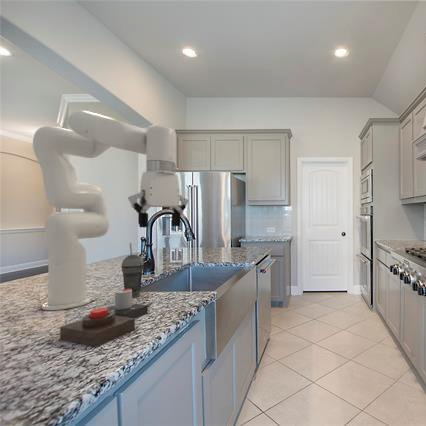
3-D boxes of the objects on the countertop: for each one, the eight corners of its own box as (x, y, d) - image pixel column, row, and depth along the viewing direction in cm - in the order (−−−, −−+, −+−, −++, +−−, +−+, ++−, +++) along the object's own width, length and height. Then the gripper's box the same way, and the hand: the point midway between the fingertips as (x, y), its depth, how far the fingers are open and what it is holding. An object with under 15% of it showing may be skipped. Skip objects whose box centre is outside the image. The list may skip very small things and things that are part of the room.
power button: (86, 318, 71) (86, 311, 71) (101, 313, 74) (101, 307, 74) (96, 320, 70) (96, 313, 70) (111, 315, 73) (111, 308, 73)
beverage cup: (132, 299, 101) (133, 244, 101) (115, 298, 103) (116, 243, 103) (148, 294, 108) (149, 242, 109) (132, 293, 110) (133, 241, 110)
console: (97, 318, 83) (97, 309, 83) (124, 309, 91) (124, 301, 91) (122, 322, 80) (122, 313, 80) (148, 312, 88) (148, 304, 88)
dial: (122, 310, 83) (122, 292, 83) (111, 308, 84) (111, 291, 84) (135, 305, 87) (135, 288, 87) (125, 304, 88) (125, 287, 88)
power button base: (59, 340, 69) (60, 319, 69) (102, 324, 79) (102, 306, 79) (95, 347, 66) (95, 325, 66) (134, 330, 75) (134, 311, 75)
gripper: (180, 173, 93) (179, 225, 93) (122, 165, 78) (121, 227, 78) (194, 172, 89) (194, 226, 89) (137, 163, 74) (136, 228, 74)
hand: (160, 226), depth 83 cm, fingers open, 9 cm apart
